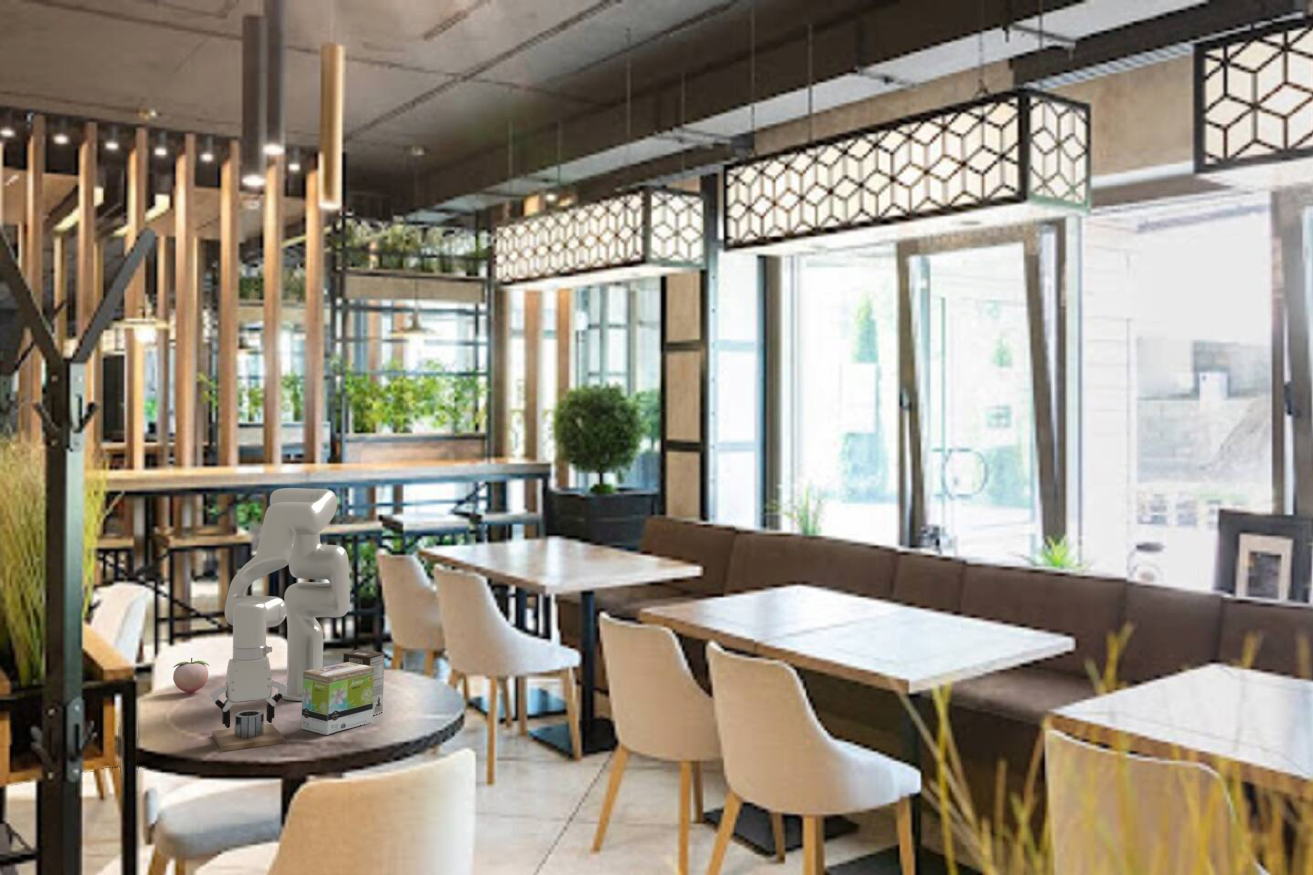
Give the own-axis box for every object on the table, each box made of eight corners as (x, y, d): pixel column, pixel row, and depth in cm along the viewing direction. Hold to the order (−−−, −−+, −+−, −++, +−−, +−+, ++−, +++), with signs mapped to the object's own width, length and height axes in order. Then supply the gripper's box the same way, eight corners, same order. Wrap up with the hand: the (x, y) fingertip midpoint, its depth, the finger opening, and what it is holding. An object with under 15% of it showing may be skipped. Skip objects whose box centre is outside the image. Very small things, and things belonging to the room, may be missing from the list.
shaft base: (271, 728, 277) (272, 710, 277) (284, 743, 265) (285, 724, 265) (212, 735, 270) (212, 717, 270) (222, 751, 258) (223, 732, 258)
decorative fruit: (178, 699, 303) (178, 662, 303) (169, 693, 310) (170, 657, 310) (213, 694, 309) (214, 658, 309) (204, 688, 316) (204, 653, 315)
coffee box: (340, 713, 292) (341, 652, 292) (357, 708, 298) (357, 648, 298) (368, 718, 288) (369, 656, 288) (384, 712, 294) (385, 652, 294)
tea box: (328, 736, 272) (329, 676, 271) (300, 729, 277) (301, 670, 277) (374, 722, 284) (375, 665, 284) (346, 716, 290) (347, 660, 289)
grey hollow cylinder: (260, 729, 272) (260, 708, 272) (265, 735, 267) (265, 715, 267) (232, 732, 269) (232, 712, 269) (237, 739, 263) (237, 718, 263)
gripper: (282, 647, 275) (281, 716, 275) (208, 653, 266) (207, 724, 266) (290, 652, 268) (289, 723, 269) (214, 659, 260) (213, 732, 260)
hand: (248, 724), depth 268 cm, fingers open, 9 cm apart
